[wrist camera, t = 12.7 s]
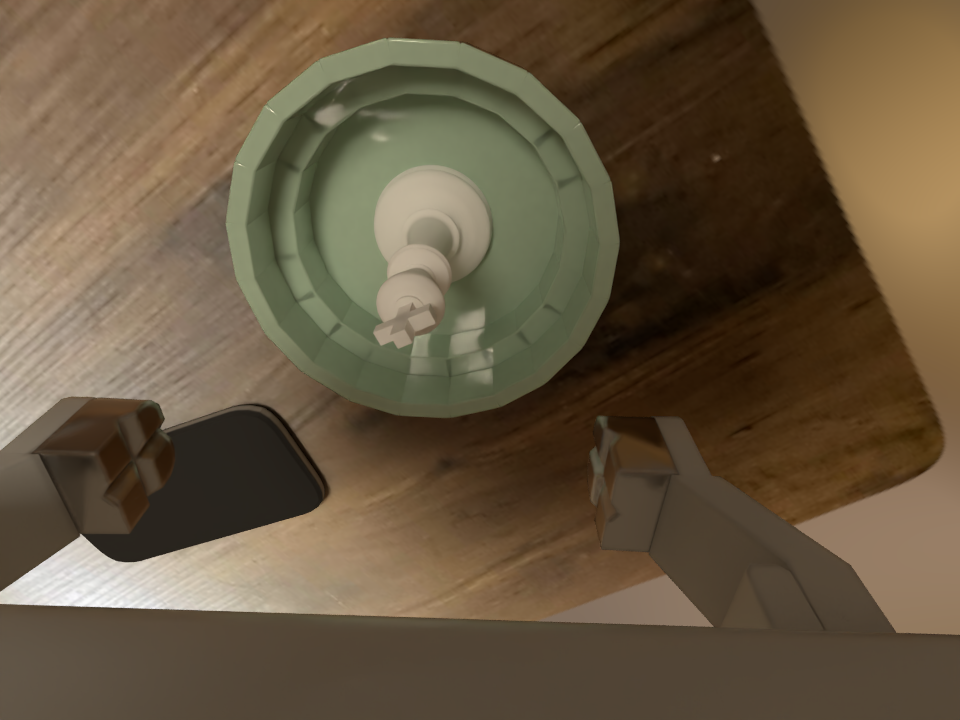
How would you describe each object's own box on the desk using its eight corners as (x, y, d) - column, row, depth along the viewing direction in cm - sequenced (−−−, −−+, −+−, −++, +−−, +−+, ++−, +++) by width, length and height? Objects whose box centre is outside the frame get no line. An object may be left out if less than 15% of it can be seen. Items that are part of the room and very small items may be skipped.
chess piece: (352, 195, 22) (266, 295, 13) (461, 143, 21) (444, 213, 12) (409, 297, 24) (367, 438, 16) (510, 254, 23) (525, 380, 15)
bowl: (394, -54, 18) (366, -83, 14) (660, 198, 23) (701, 235, 18) (222, 243, 24) (163, 288, 19) (462, 402, 28) (458, 468, 24)
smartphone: (23, 482, 30) (258, 403, 27) (35, 471, 30) (264, 394, 28) (116, 569, 33) (332, 508, 30) (125, 558, 34) (336, 497, 31)
